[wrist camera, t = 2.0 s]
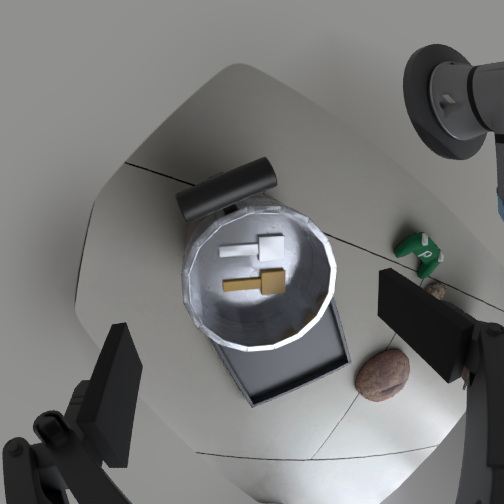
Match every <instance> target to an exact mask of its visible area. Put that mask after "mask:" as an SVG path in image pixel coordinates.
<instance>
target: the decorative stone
mask: <svg viewBox="0 0 504 504" xmlns="http://www.w3.org/2000/svg"><path fill="white" fill-rule="evenodd" d="M409 372H410V366H409V359H408V357H407V356H406V355H405V354H404V353H402V352H400V351H398V350H387V351H384V352H382V353H380V354H378V355H376V356H375V357H374V358H372V359H370V360H369V361H368V362H367V363H366V364H365V365H364V366H363V368H362V369H361V371H360V372H359V374H358V376H357V379H356V389H357V391H358V392H359V393H360V394H361V395H362V396H363V397H364V398H366V399H368V400H370V401H374V402H379V401H384V400H386V399H388V398H391V397H393V396H394V395H395V394H397V393H398V392H399V391H400V390H401V389H402V388H403V387H404V385H405V384H406V382H407V380H408V377H409Z"/></svg>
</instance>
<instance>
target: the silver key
mask: <svg viewBox="0 0 504 504" xmlns="http://www.w3.org/2000/svg"><path fill="white" fill-rule="evenodd" d="M255 254H258V260H259V262H262V261H274V260H284V235H283V234H278V235H263V236H258V243H251V244H238V245H225V246H219V256H220V257H230V256H242V255H255Z"/></svg>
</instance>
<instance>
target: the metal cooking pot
mask: <svg viewBox="0 0 504 504" xmlns="http://www.w3.org/2000/svg"><path fill="white" fill-rule="evenodd" d="M275 186H277V179H276V175H275V173H274V170H273V168H272V166H271V164H270V162H269V161H268V159H267V158H266V157H263V158H260V159H258V160H255V161H253V162H250V163H248V164H245V165H243V166H240V167H238V168H235V169H233V170H230V171H228V172H226V173H223V172H221V173H219V174H216V175H214V176H212V177H210V179H209V180H207V181H204V182H202V183H200V184H198V185H195V186H193V187H191V188H188V189H186V190H184V191H182V192H180V193H177V194H176V199H177V202H178V205H179V208H180V210H181V212H182V214H183V216H184V218H185V220H186V221H187V223H191V222H193V221H196V220H198V219H200V218H202V217H205V216H206V217H205V218H204V219H203V220H202V221H201V222H200V223H199V225H198V226H197V227H196V228H195V229H194V230H193V232H192V235H191V237H190V239H189V242H188V244H187V248H186V251H185V253H184V256H183V264H182V274H181V277H182V291H183V303H184V305H185V307H186V309H187V311H188V313H189V315H190V316H191V318H192V320H193V322H194V323H195V325H196V327H197V328H198V329H199V330H200V331H202V332H203V333H204V334H206V335H207V336H208V337H210V338H211V339H212V340H214V341H215V342H216V343H218V344H220V345H222V346H225V347H229V348H233V349H237V350H241V351H244V352H246V351H247V352H252V351H263V350H273V349H277V348H279V347H281V346H284V345H286V344H288V343H290V342H292V341H295V340H297V339H299V338H301V337H302V336H303V335H304V334H305V333H306V332H307V331H308V330H310V329H311V328H312V327H313V326H314V325H315V324H316V323H317V322H318V321H319V320H320V318H322V316H323V314H324V312H325V310H326V308H327V306H328V304H329V303H330V301H331V299H332V297H333V294H334V288H335V280H336V271H337V267H336V266H337V265H336V261H335V258H334V255H333V251H332V248H331V245H330V242H329V240H328V238H327V237H326V236H325V235H324V234H323V232H322V231H321V230H320V229H319V228H318V227H317V226H316V225H315V223H314V222H313V221H312V220H311V219H310V218H309V217H307V216H305V215H303V214H301V213H300V212H298V211H296V210H294V209H292V208H290V207H288V206H285V205H283V204H281V203H279V202H276V201H274V200H271V199H268V198H249V197H251V196H254V195H256V194H258V193H261V192H263V191H266V190H268V189H271V188H273V187H275ZM278 234H283V235H284V260H274V261H262V262H259V260H258V254H255V255H242V256H230V257H220V256H219V246H225V245H238V244H251V243H258V236H263V235H278ZM279 269H284V270H285V271H286V280H285V293H281V294H272V295H263V296H262V294H261V289H251V290H240V291H229V292H224V290H223V281H231V280H242V279H253V278H261V273H260V272H261V271H269V270H279Z"/></svg>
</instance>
